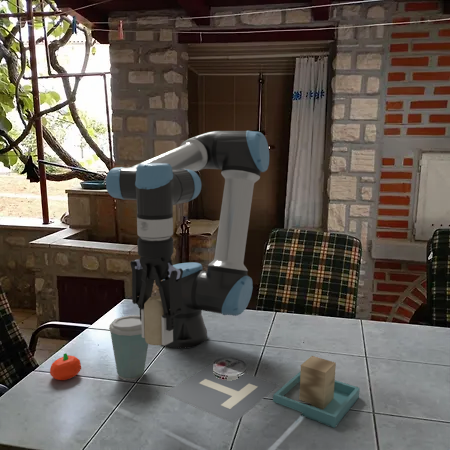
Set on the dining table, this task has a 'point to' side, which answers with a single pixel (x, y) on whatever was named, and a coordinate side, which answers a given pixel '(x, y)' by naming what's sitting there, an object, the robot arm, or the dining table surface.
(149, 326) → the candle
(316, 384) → the wooden block
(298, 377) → the tray
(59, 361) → the pumpkin
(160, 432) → the dining table surface
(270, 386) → the board
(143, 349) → the disposable coffee cup
